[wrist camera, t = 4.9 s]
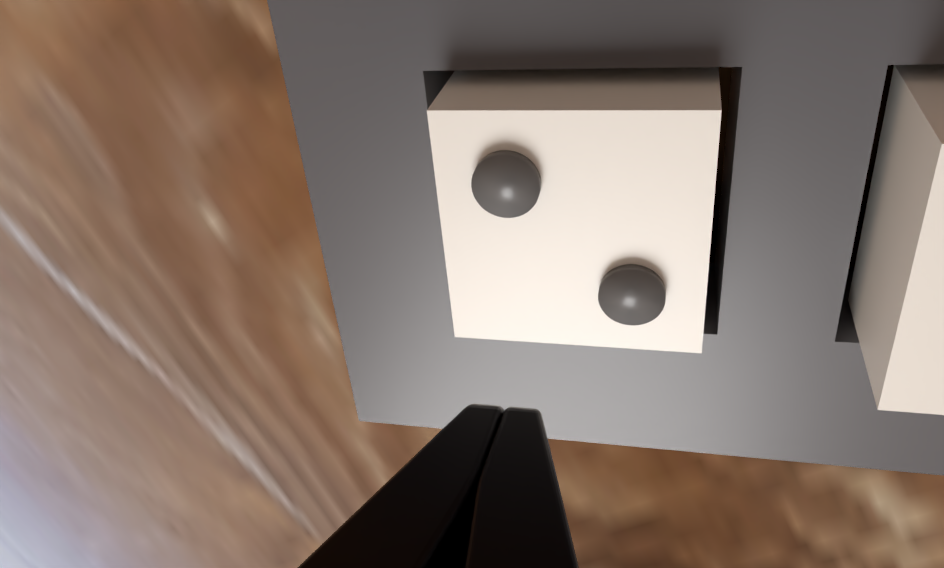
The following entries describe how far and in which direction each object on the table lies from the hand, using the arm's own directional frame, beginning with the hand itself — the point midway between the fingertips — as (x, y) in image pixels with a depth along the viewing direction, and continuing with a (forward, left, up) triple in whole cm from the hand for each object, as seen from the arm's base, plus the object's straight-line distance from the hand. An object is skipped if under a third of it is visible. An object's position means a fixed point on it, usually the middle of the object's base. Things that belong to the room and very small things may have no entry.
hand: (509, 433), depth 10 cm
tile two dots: (0, 0, -8) cm, 8 cm away
